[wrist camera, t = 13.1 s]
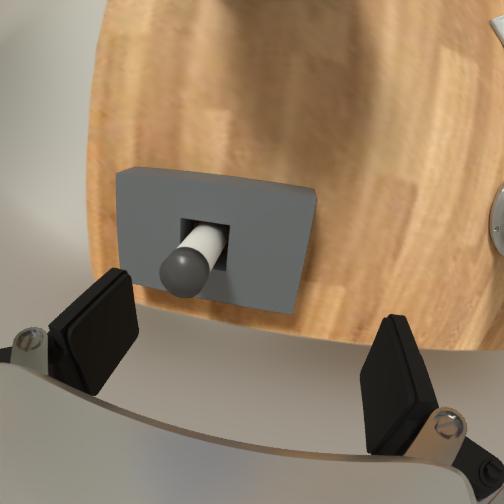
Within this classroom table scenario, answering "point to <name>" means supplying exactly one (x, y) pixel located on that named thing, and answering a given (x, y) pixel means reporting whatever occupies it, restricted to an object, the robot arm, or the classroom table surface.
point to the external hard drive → (498, 27)
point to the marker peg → (194, 259)
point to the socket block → (223, 212)
